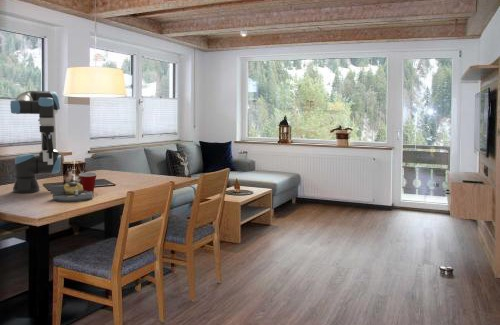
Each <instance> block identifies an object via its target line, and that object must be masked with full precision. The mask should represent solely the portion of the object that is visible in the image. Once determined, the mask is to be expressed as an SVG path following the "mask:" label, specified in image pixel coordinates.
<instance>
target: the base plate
mask: <svg viewBox="0 0 500 325" xmlns="http://www.w3.org/2000/svg"><path fill="white" fill-rule="evenodd" d="M93 198H94V191H93V192H92V191H88V190H83V193H81V194H78V190H75V194H52V200H53V201H54V202H58V203H75V202H76V203H77V202H85V201H90V200H92V199H93Z"/></svg>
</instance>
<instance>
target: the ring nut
mask: <svg viewBox="0 0 500 325" xmlns="http://www.w3.org/2000/svg"><path fill="white" fill-rule="evenodd" d="M75 190H78V194H81V193H83V185H82V184H81V182H77V181H70V182H68V183H64V185H61V184H59V185H50V195H53V194H75Z"/></svg>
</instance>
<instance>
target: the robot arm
mask: <svg viewBox="0 0 500 325" xmlns="http://www.w3.org/2000/svg"><path fill="white" fill-rule="evenodd" d="M58 110H60V101H59V96H58V93H57V92H56V91H47V90H45V91H44V90H43V91H41V90H30V91H24V92H21V93H19V94H18V95H17V96H16V98H15V100H11V101H10V113H11V114H14V115H38V117H39V119H38V120H37V121H38V122H39V128H38V129H39V133H40V140H41V141H40V142H41V151H39V153H38V155H37V154H36V153H24V154H21V155H16V156H15V158H14V166H15V167H14V168H15V181H14V183H13V187H12V192H13V193H15V194H30V193H36V192H39V191H40V190H41V189H40V185H39V182H38V180H37V175H47V174H48V175H50V174H51V175H53V174H59V173H60V170H61V163H62V155H60V152H59V151H58V150H57V137H56V136H57V135H56V114H57V113H58Z"/></svg>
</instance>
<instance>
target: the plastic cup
mask: <svg viewBox="0 0 500 325" xmlns="http://www.w3.org/2000/svg"><path fill="white" fill-rule="evenodd" d="M78 175H79V177H80V181H81V182H80V183H81V185H83V190H88V191H92V192H93V193H94V191H95V185H96V178H97V176H98V173H97V172H91V171H89V172H88V171H87V172H86V171H85V172H81V173H79V174H78Z"/></svg>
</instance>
